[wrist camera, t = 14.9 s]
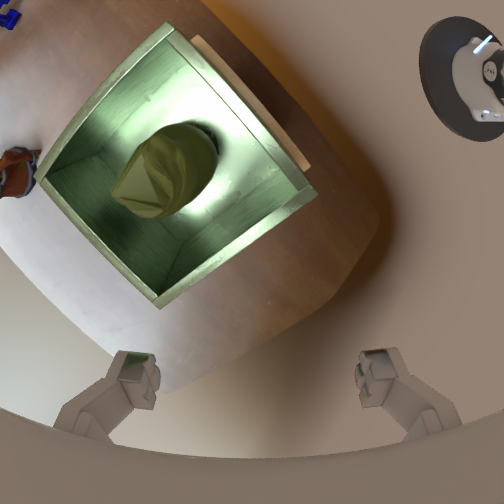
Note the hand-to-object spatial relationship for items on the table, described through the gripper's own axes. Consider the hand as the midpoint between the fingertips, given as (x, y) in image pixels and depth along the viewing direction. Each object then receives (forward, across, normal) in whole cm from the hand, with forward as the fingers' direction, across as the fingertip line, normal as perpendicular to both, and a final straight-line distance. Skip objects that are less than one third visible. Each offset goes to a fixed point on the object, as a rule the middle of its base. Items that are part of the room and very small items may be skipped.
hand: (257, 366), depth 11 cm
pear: (+15, +5, -6) cm, 17 cm away
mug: (+44, +48, -4) cm, 65 cm away
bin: (+44, +5, -5) cm, 45 cm away
